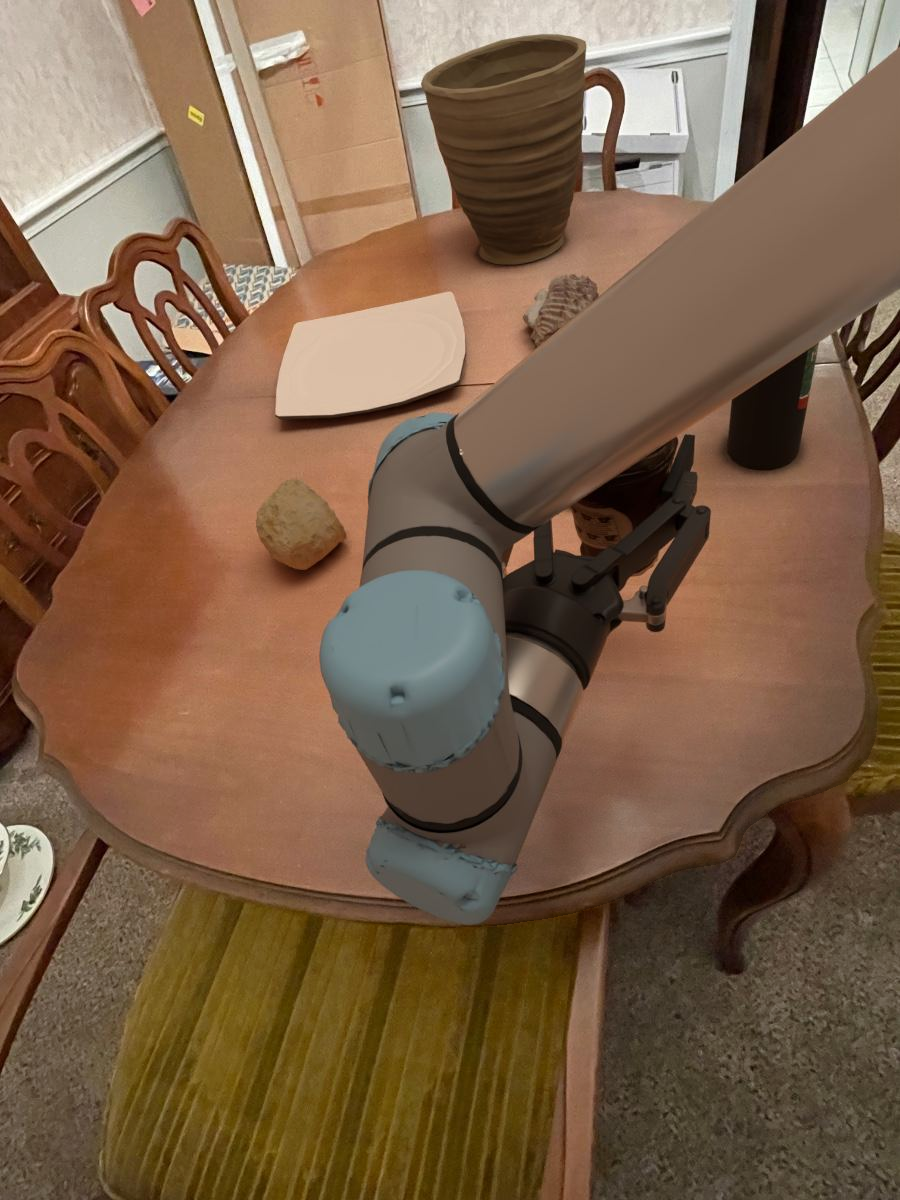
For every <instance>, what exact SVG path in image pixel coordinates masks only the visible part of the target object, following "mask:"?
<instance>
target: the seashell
mask: <svg viewBox="0 0 900 1200" xmlns="http://www.w3.org/2000/svg"><path fill="white" fill-rule="evenodd" d="M599 296H600V295H599V293H598V285H597V283H595V281H593V280H592V279H591V278H590V277H589V276H588V275H586V276H585V275H583V274H581V275H579V276H578V275H576V273H570V274H560V275H556V276H555V277H553V279H551V280H550V283H549V286H548V290H546V289H544V288H541V289H539V291H537V292H536V294H535V295H534V298H533V299H534V300H535V302H534V303H533V304H532V305H530V306H529V308H528V309H527V310H526V311H525V312H524V313H523V316H522V320H523V321H524V323H525V324H526V325H527V326H528V327H529V328H530V329H532V333H531V335H530V337H529V339H530V340H532V341H534V342H533V344H534V345H535V346H536V348H537V347H539V346H540V345H541V344H542V343H543V342H545V341H546V340H547V339H548V338H549V337H551V336H552V335H553V334H554V333H555V332H557V331H558V330H559V329H560V328H561V327H563V326H564V325H565V324H566V323H568V322H569V321H570V320H571V319H572V318H574V317H575V316H576V315H577V314H578V313H580V312H581V311H582V310H583V309H584V308H586V307H587V306H588V305H589V304H590V303H592V302H593V301H594V300H595V299H596V298H598V297H599Z"/></svg>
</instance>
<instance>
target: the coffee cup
mask: <svg viewBox="0 0 900 1200" xmlns="http://www.w3.org/2000/svg"><path fill="white" fill-rule="evenodd" d="M678 446H679V438H678V436H676V437H675V438H673V439H672V440H670V441H669V442H667V443H666V444H664V445H662V446H661V447H659V448H658V449H656V450H655V451H653V452H652V453H650V454H649V455H647V456H646V457H644V458H643V459H641V460H640V461H638V462H637V463H635V464H634V465H632V466H631V467H629V468H628V469H626V470H625V471H623V472H622V473H620V474H618V475H617V476H615V477H614V478H612V479H611V480H609V481H608V482H606V483H605V484H603V485H602V486H600V487H599V488H597V489H596V490H594V491H593V492H591V493H590V494H588V495H587V496H585V497H584V498H582V499H581V500H579V501H578V502H576V503H575V504H573V505H571V506H570V507H569V508H570V511H571V514H572V518H573V523H574V528H575V532H576V535H577V536H578V538H579V539H580V541H581V542H580V546H579V552H580V555H588V556H594V557H596V556H597V555H598V554H600V553H601V552H602V551H603V550H604V549H605V548H607V547H608V546H611V547H614V546H615V545H616V544H618V543H619V542H620V541H621V540H622V539H623V538H624V537H626V536H627V535H628V534H629V533H630V532H631V531H633V530H634V529H635V528H636V527H637V526H638V525H640V524H641V523H642V522H643V521H644V520H645V519H646V518H648V517H649V516H650V515H651V514H652V513H653V512H655V511H656V510H657V509H658V508H659V507H660V506H661V494H662V488H663V486H664V483H665V481H666V479H667V476H668V474H669V471H670V469H671V467H672V464H673V462H674V459H675V457H676V454H677V450H678ZM659 557H660V551H659V552H658V553H657V554H655V555H654V556H653V557H652V558H651V559H650V560H649V561H648V562H647V563H645V564H644V565H643V566H642V567H641V568H640V569H639V570H638V571H636V572H635V573H634V574H633V575H632V576H631V577H630V578H632V577H634V578H635V577H639V576H643V575H644V574H645V573H646V572H647V571H649V570H651V569H652V568H653V567H655V564H656V563H657V562H659Z"/></svg>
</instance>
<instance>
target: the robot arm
mask: <svg viewBox="0 0 900 1200" xmlns="http://www.w3.org/2000/svg"><path fill="white" fill-rule="evenodd" d="M899 290H900V46H898V48H896V49H895V50H893V52H891V53H890V54H889V55H888V56H887V57H885V58H884V59H883V60H881V61H880V62H879V63H878V64H876V66H874V67H873V68H872V69H871V70H869V71H868V72H867V73H866V74H865V75H864V76H862V77H861V78H860V79H859V80H857V81H856V82H855V83H854V84H853V85H851V86H850V87H849V88H848V89H847V90H845V91H844V92H843V93H842V94H841V95H839V96H838V97H836V99H834V100H833V101H832V102H831V103H830V104H829V105H827V106H826V107H825V108H824V109H823V110H822V111H820V112H819V113H818V114H817V115H815V116H814V117H812V119H811V120H809V121H808V122H806V124H805V125H803V126H801V128H800V129H798V130H797V131H796V132H795V133H793V135H791V136H789V138H788V139H786V141H784V142H783V143H782V144H780V145H779V146H778V147H776V149H774V150H773V151H772V152H771V153H770V154H768V155H767V156H766V157H765V158H763V160H761V161H760V162H758V164H756V165H755V166H754V167H753V168H751V169H750V170H749V171H748V172H747V173H745V174H744V175H743V176H742V177H741V178H740V179H738V180H737V181H736V182H735V183H734V184H732V185H731V186H730V187H729V188H727V189H726V190H725V191H724V192H722V194H720V195H719V196H718V197H717V198H716V199H714V200H713V201H712V202H711V203H709V204H708V205H707V206H706V207H705V208H704V209H702V210H701V211H700V212H698V214H696V215H695V216H693V218H691V219H690V220H689V221H688V222H686V223H685V224H684V225H683V226H682V227H680V228H679V229H678V230H677V231H676V232H675V233H673V234H672V235H671V236H670V237H668V238H667V239H666V240H665V241H663V242H662V243H661V244H660V245H659V246H657V248H655V249H654V250H653V251H652V252H651V253H649V254H648V255H647V256H646V257H645V258H643V259H642V260H640V262H638V263H637V264H635V266H633V267H632V268H631V269H630V270H629V271H627V272H626V273H625V274H623V276H622V277H620V278H619V279H618V280H617V281H616V282H614V283H613V284H612V285H611V286H609V287H608V288H607V289H605V291H603V292H602V293H601V294H600V295H599V296H598V298H596V299H595V300H594V301H593V302H592V303H590V304H589V305H588V306H587V307H586V308H584V309H583V310H582V311H581V312H580V313H578V314H577V315H576V316H575V317H574V318H572V319H571V320H570V321H569V322H568V323H566V324H565V325H564V326H563V327H561V328H560V329H559V330H558V331H557V332H555V333H554V334H553V335H552V336H551V337H549V338H548V339H547V340H546V341H545V342H543V343H542V344H541V345H540V346H539V347H537V346H536V348H535V349H534V350H533V351H531V352H530V353H529V354H528V355H527V356H525V357H524V358H523V359H521V361H519V362H518V363H517V364H516V365H514V366H513V367H512V368H511V369H509V370H508V371H507V372H506V373H505V374H504V375H502V376H501V377H500V378H498V380H496V381H495V382H493V384H491V385H490V386H489V387H488V388H487V389H486V390H484V391H483V392H482V393H481V394H480V395H479V396H477V397H476V398H475V399H473V400H472V401H471V402H470V403H469V404H468V405H466V406H465V407H464V408H462V409H461V410H460V411H459V412H458V413H457V414H452V413H447V412H429V413H427V414H425V415H421V416H417V417H411V418H407V419H406V420H403V421H402V422H400V423H399V424H397V425H395V427H394V428H393V429H392V430H391V431H389V433H388V434H387V435H386V436H385V438H384V439H383V441H382V442H381V445H380V447H379V449H378V452H377V456H376V460H375V465H374V469H373V473H372V476H371V478H370V479H369V482H368V488H367V489H368V490H367V491H368V492H367V506H368V507H367V516H366V524H365V525H366V526H365V536H364V545H363V546H364V547H363V548H364V549H363V557H362V565H361V574H360V579H359V587H358V588H356V589H355V590H354V591H352V592H351V593H350V594H349V595H347V597H346V598H345V599H344V600H343V602H342V605H341V606H340V608H339V610H338V612H337V613H336V614H335V615H334V616H333V618H332V619H329V620H328V622H327V624H326V626H325V627H324V630H323V632H322V635H321V638H320V646H319V655H318V656H319V666H320V667H319V669H320V674H321V678H322V680H323V683H324V685H325V687H326V690H327V692H328V694H329V697H330V702H331V707H332V709H333V710H334V712H335V713H336V715H337V722H338V724H339V726H340V727H341V729H342V730H343V731H344V732H345V735H346V738H347V740H349V741H350V743H351V744H352V746H354V748H355V749H356V751H357V752H358V755H359V756H360V758H361V760H362V761H363V763H364V764H365V766H366V768H367V769H368V770H369V773H370V774H371V776H372V778H373V779H374V782H375V783H376V785H377V786H378V788H379V790H380V792H381V794H382V797H383V799H384V802H385V804H386V806H387V807H386V808H385V810H384V812H383V813H382V815H380V816H378V818H377V820H376V822H375V829H374V831H373V834H372V837H371V839H370V842H369V844H368V846H367V849H366V853H365V854H366V855H365V864H366V867H367V870H368V871H369V873H370V874H371V876H372V877H373V878H374V879H375V880H376V881H377V882H378V883H379V884H380V885H381V886H383V887H384V888H385V889H386V890H387V891H389V892H390V893H392V894H393V895H395V896H396V897H398V898H399V899H401V900H403V901H404V902H405V903H407V904H410V905H411V906H413V907H415V908H416V909H419V910H421V911H423V912H424V913H427V914H430V915H432V916H434V917H436V918H439V919H441V920H443V921H447V922H451V923H454V924H458V925H465V926H473V925H478V924H481V923H483V922H485V921H486V920H488V919H489V918H490V917H491V916H492V915H493V913H494V911H495V909H496V908H497V905H498V903H499V901H500V899H501V898H502V895H503V893H504V891H505V890H506V887H507V885H508V884H509V881H510V879H511V877H512V875H513V874H516V872H517V870H518V867H519V865H518V863H517V861H518V859H519V856H520V854H521V852H522V849H523V847H524V844H525V842H526V839H527V836H528V834H529V831H530V829H531V826H532V824H533V821H534V819H535V816H536V814H537V811H538V809H539V806H540V805H541V804H540V803H541V801H542V799H543V797H544V794H545V791H546V789H547V786H548V784H549V782H550V780H551V776H552V774H553V771H554V769H555V766H556V764H557V760H558V758H559V756H560V754H561V751H562V748H563V747H564V743H565V741H566V738H567V736H568V734H569V731H570V729H571V727H572V725H573V722H574V720H575V718H576V715H577V713H578V710H579V708H580V705H581V703H582V702H583V698H584V691H585V690H586V689H587V688H588V686H589V684H590V681H591V680H592V677H593V675H594V672H595V669H596V667H597V664H598V663H599V661H600V657H601V656H602V653H603V650H604V649H605V645H606V642H607V639H608V637H609V635H610V634H611V633H612V632H613V631H614V630H615V629H617V628H618V627H619V626H620V625H621V624H622V623H623V622H633V623H645V627H646V630H648V631H649V632H650V633H661V632H662V631H663V630H664V629H665V627H666V619H667V609H668V605H669V603H670V602H671V600H672V599H673V597H674V596H675V594H676V592H677V590H678V589H679V587H680V585H681V584H682V582H683V581H684V579H685V578H686V576H687V575H688V572H689V571H690V569H691V567H692V566H693V565H694V563H695V562H696V559H697V558H698V557H699V554H700V553H701V551H702V549H703V548H704V546H705V545H706V543H707V541H708V540H709V537H710V526H711V517H712V510H711V508H710V507H709V506H707V505H703V504H701V505H696V506H695V505H693V503H694V500H695V498H696V495H697V492H698V480H699V476H698V473H697V471H691V470H692V468H693V466H694V461H695V459H694V458H695V446H696V445H695V444H696V434H687V433H685V434H684V435H683V437H682V440H681V442H680V445H679V448H678V449H677V451H676V453H675V456H674V459H673V463H672V466H671V468H670V471H669V474H668V476H667V479H666V481H665V483H664V486H663V488H662V494H661V506H660V507H659V508H658V509H657V510H656V511H655V512H653V513H652V514H651V515H650V516H649V517H648V518H646V519H645V520H644V521H643V522H642V523H641V524H640V525H638V526H637V527H636V528H635V529H634V530H633V531H631V532H630V533H629V534H628V535H627V536H626V537H624V538H623V539H622V540H621V541H620V542H619V543H618V544H616V545H615V546H614V547H611V546H608V547H607V548H605V549H604V550H603V551H602V552H601V553H600V554H598V555H597V556H596V557H594V556H588V555H581V554H580V555H578V554H577V555H576V554H574V553H572V552H568V551H566V550H562V549H556V548H555V549H554V537H553V535H554V534H553V518H555V517H557V516H558V515H559V514H561V513H562V512H564V511H566V510H567V509H569V508H570V506H571V505H573V504H575V503H576V502H578V501H579V500H581V499H582V498H584V497H585V496H587V495H588V494H590V493H591V492H593V491H594V490H596V489H597V488H599V487H600V486H602V485H603V484H605V483H606V482H608V481H609V480H611V479H612V478H614V477H615V476H617V475H618V474H620V473H622V472H623V471H625V470H626V469H628V468H629V467H631V466H632V465H634V464H635V463H637V462H638V461H640V460H641V459H643V458H644V457H646V456H647V455H649V454H650V453H652V452H653V451H655V450H656V449H658V448H659V447H661V446H662V445H664V444H666V443H667V442H669V441H670V440H672V439H673V438H675V437H676V436H677V437H678V436H679V435H681V434H683V433H684V432H685V431H687V430H688V429H690V428H692V427H693V426H694V425H696V424H698V423H699V422H701V421H702V420H704V419H705V418H706V417H708V416H710V415H711V414H713V413H714V412H716V411H717V410H719V409H720V408H722V407H723V406H725V405H727V404H728V403H730V402H732V399H734V398H735V397H737V396H738V395H740V394H741V393H743V392H744V391H746V390H747V389H749V388H750V387H752V386H753V385H755V384H757V383H758V382H760V381H761V380H763V379H764V378H766V377H767V376H769V375H770V374H772V373H773V372H775V371H776V370H778V369H779V368H781V367H782V366H784V365H785V364H787V363H788V362H790V361H791V360H793V359H794V358H796V357H797V356H799V355H801V354H802V353H804V352H805V351H807V350H808V349H810V348H811V347H813V346H814V345H816V344H817V343H819V344H820V342H822V341H823V340H825V339H826V338H828V337H830V336H831V335H832V334H834V333H835V332H837V331H839V330H840V329H841V328H843V327H844V326H846V325H848V324H849V323H851V322H853V321H854V320H855V319H857V318H858V317H860V316H861V315H863V314H864V313H866V312H868V311H869V310H870V309H872V308H873V307H875V306H876V305H878V304H879V303H881V302H882V301H884V300H885V299H887V298H889V297H890V296H892V295H893V294H894V293H896V292H898V291H899ZM532 533H533V536H532V537H533V560H531V561H529V562H527V563H525V564H524V565H522V566H521V567H518V568H516V569H515V570H513V571H511V572H509V573H508V569H507V567H508V564H509V561H510V558H511V556H512V555H511V554H512V552H513V549H514V545H515V544H517V543H518V542H520V541H522V540H523V539H525V538H526V537H527V536H530V534H532ZM670 542H671V543H670ZM669 543H670V544H669ZM668 544H669V546H668V547H667V549H666V551H665V552H664V553H663V555H662V557H661V558H660V560H658V563H657V564H656V566H655V568H654V569H653V571H652V573H651V574H650V576H649V579H648V582H647V585H641V586H640V587H639V589H638V590H637V591H636V592H635V593H634V595H633V596H632V597H631V598H630V599H628V600H623V597H622V595H621V593H620V592H622V590H623V589H624V588H625V586H626V584H627V582H628V580H629V579H630V578H632V577H631V576H632V575H633V574H634V573H635V572H636V571H638V570H639V569H640V568H641V567H642V566H643V565H644V564H645V563H647V562H648V561H649V560H650V559H651V558H652V557H653V556H654V555H655V554H657V553H658V552H659V553H660V551H662V549H663V548H665V547H666V546H667V545H668Z"/></svg>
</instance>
